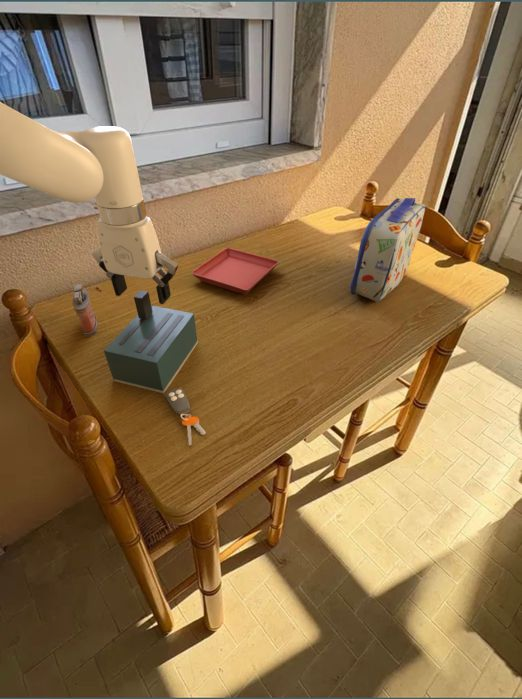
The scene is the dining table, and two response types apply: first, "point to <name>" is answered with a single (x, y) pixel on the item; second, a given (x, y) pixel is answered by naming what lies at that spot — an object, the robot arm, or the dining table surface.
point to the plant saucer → (235, 270)
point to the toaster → (152, 349)
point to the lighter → (84, 311)
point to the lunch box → (387, 249)
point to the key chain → (183, 410)
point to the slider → (143, 304)
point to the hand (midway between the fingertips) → (143, 296)
